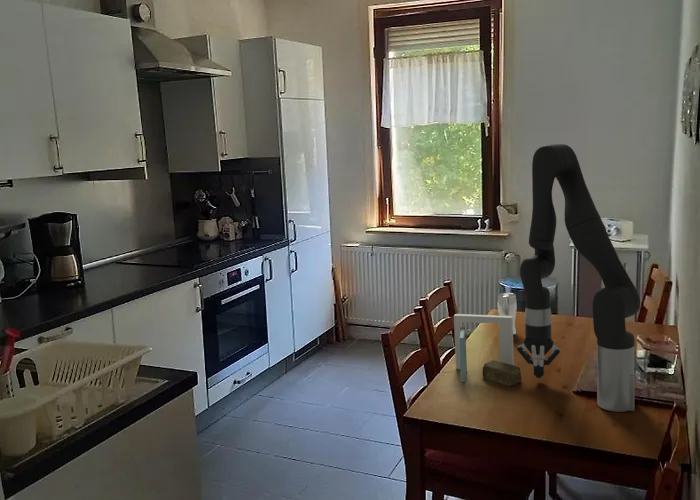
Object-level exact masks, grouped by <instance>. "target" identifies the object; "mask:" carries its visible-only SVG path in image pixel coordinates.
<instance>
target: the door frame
mask: <svg viewBox="0 0 700 500" xmlns="http://www.w3.org/2000/svg"><path fill="white" fill-rule="evenodd" d="M461 323H479V324H480V323H481V324H498V345H499V346H498V347H499V362H502V363H506V364H511V365H514V366H515V361H514V360H515V359H514V335H513V319H512V316H499V315H494V314H493V315H492V314H491V315H489V314H472V313H471V314H470V313H469V314H466V313H464V314H463V313H455V314H454V315H453V327H454V328H453V330H454V331H453V332H454V333H453V334H454V353H455V354H454V355H455V369H456V370H461V363H460V332H461Z"/></svg>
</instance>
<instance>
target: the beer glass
mask: <svg viewBox="0 0 700 500" xmlns="http://www.w3.org/2000/svg"><path fill="white" fill-rule="evenodd" d="M516 295H517V294H515V293H513V292H502V293H498V294H497V311H498V316H512V319H513V336H515V335H516V334H517V331H516V330H517V329H516V325H515V324H516V315H517V308H518V307H517V297H516Z"/></svg>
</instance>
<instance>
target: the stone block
mask: <svg viewBox="0 0 700 500" xmlns="http://www.w3.org/2000/svg"><path fill="white" fill-rule="evenodd" d="M482 377H483V379H486V380H489V381H492V382H494V383H498V384H500V385H504V386H506V387H507V386H508V387H511V386H515V385H517V384H518V383H519V382H522V372H521V368H520V367H519V366H516V365H515V364H514V365H511V364H506V363H502V362H500V361H498V360H493V359H491V360H490V361H488V362H485V363H484V365H483V366H482Z"/></svg>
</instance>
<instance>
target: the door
mask: <svg viewBox="0 0 700 500" xmlns="http://www.w3.org/2000/svg"><path fill="white" fill-rule="evenodd" d="M466 335H467V334H466V327H464V326H460V363H461V369H460V379H461V380H460V382H461V383H466V378H467V370H468V369H467V368H468V367H467V366H468V365H467V363H468V362H467V340H466Z"/></svg>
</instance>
